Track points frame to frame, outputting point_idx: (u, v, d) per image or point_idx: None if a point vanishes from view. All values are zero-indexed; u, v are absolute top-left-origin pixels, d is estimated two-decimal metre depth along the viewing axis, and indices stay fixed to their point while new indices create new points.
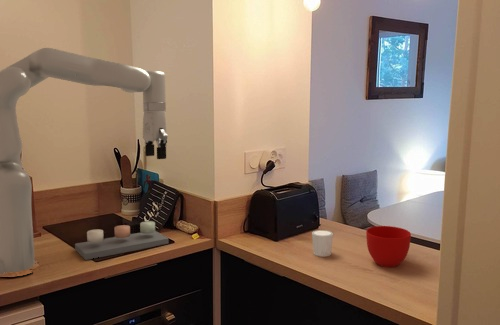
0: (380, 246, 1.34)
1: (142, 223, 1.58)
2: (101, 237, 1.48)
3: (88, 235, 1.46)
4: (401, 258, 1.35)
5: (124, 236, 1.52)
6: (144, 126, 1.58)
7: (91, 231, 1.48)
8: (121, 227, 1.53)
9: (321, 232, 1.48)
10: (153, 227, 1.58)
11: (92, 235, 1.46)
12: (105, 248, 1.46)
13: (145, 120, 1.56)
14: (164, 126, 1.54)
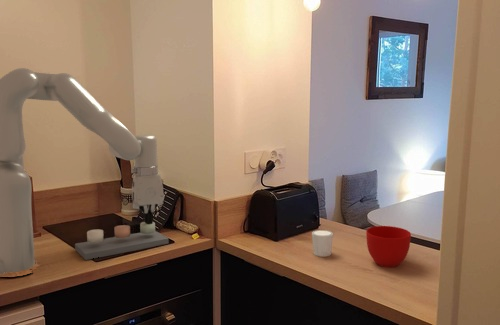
0: (380, 246, 1.34)
1: (142, 223, 1.58)
2: (101, 237, 1.48)
3: (88, 235, 1.46)
4: (401, 258, 1.35)
5: (124, 236, 1.52)
6: (143, 192, 1.53)
7: (91, 231, 1.48)
8: (121, 227, 1.53)
9: (321, 232, 1.48)
10: (153, 227, 1.58)
11: (92, 235, 1.46)
12: (105, 248, 1.46)
13: (146, 185, 1.54)
14: None
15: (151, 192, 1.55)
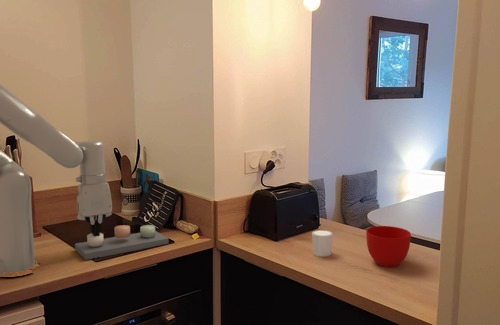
0: (380, 246, 1.34)
1: (142, 227, 1.58)
2: (101, 241, 1.48)
3: (88, 239, 1.47)
4: (401, 258, 1.35)
5: (124, 236, 1.52)
6: (88, 202, 1.43)
7: (91, 235, 1.48)
8: (121, 227, 1.53)
9: (321, 232, 1.48)
10: (153, 231, 1.58)
11: (92, 239, 1.46)
12: (105, 248, 1.46)
13: (92, 194, 1.44)
14: None
15: (97, 202, 1.45)
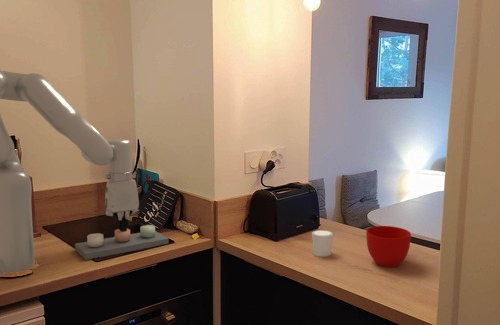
0: (380, 246, 1.34)
1: (142, 227, 1.58)
2: (101, 241, 1.48)
3: (88, 239, 1.47)
4: (401, 258, 1.35)
5: (124, 239, 1.52)
6: (116, 198, 1.48)
7: (91, 235, 1.49)
8: None
9: (321, 232, 1.48)
10: (153, 231, 1.58)
11: (92, 239, 1.46)
12: (105, 248, 1.46)
13: (120, 191, 1.49)
14: None
15: (125, 198, 1.50)
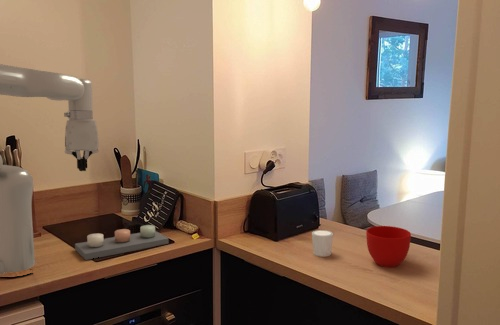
0: (380, 246, 1.34)
1: (142, 227, 1.58)
2: (101, 241, 1.48)
3: (88, 239, 1.47)
4: (401, 258, 1.35)
5: (124, 240, 1.52)
6: (75, 136, 1.50)
7: (91, 235, 1.49)
8: (121, 231, 1.53)
9: (321, 232, 1.48)
10: (153, 231, 1.58)
11: (92, 239, 1.46)
12: (105, 248, 1.46)
13: (79, 129, 1.50)
14: None
15: (84, 137, 1.51)
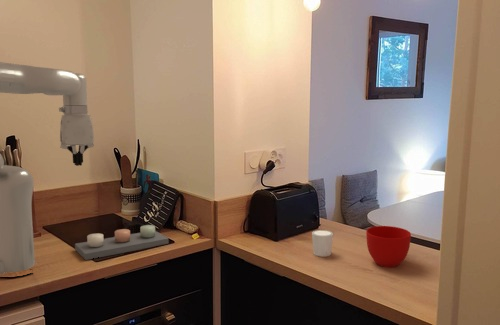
0: (380, 246, 1.34)
1: (142, 227, 1.58)
2: (101, 241, 1.48)
3: (88, 239, 1.47)
4: (401, 258, 1.35)
5: (124, 240, 1.52)
6: (70, 131, 1.50)
7: (91, 235, 1.49)
8: (121, 231, 1.53)
9: (321, 232, 1.48)
10: (153, 231, 1.58)
11: (92, 239, 1.46)
12: (105, 248, 1.46)
13: (74, 124, 1.51)
14: None
15: (79, 132, 1.52)
